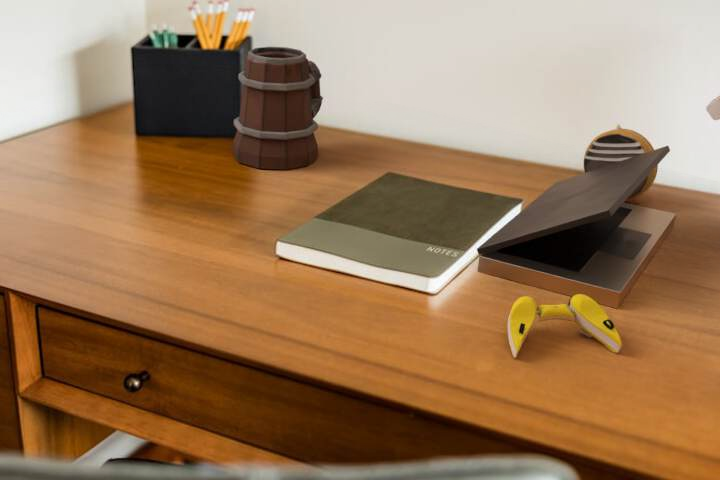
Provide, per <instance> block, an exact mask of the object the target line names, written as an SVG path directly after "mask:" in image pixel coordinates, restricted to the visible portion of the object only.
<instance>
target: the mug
mask: <svg viewBox="0 0 720 480" xmlns="http://www.w3.org/2000/svg"><path fill="white" fill-rule="evenodd" d="M244 62H245V63H244V70H243V71H241V72H239V73H238V76H237V79H238V81H239V82H240V83H241V84H242V92H241V99H240V100H241V101H240V108H239V116H237V117H236V118H234V119H233V126H234V127H235V129H236V133H235V136H234V138H233V140H232V155H233V156H234V159H236V162H238V164H243V165H246V166H250V167H253V168H256V169H260V170H262V169H263V170H278V171H279V170H280V171H281V170H283V171H287V170H291V169H292V170H293V169H297V168H302V167H303V168H304V167H309V166H310V165H311V164H313V162H315V160H317V159H318V158H319V157H318V155H319V153H318V152H319V144H318V142H317V139H316V136H315V133H314V132H316V131H317V130H318V128H319V124H318V123H317V121H316V120H315V117H316V116H317V115H318V113H319V112H320V110H321V107H322V103H323V100H324V97H323V96H322V95H321V81H320V80H321V78H322V73H321V70H320V69H319V67H318V66H317V64H316V63H315V62H314V61H313V60H309V59H308V58H307V54H306V52H304V51H302V50H301V49H298V48H297V49H296V48H293V47H286V46H262V47H254V48H253V49H250V50H249V51H247V55H246V56H245V61H244Z"/></svg>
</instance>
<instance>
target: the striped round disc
mask: <svg viewBox="0 0 720 480" xmlns="http://www.w3.org/2000/svg"><path fill="white" fill-rule="evenodd" d="M653 150H655V149H654V147H653V145H652V143H651V142H650V141H649V140H648V139H647V138H646V137H645V136H644V135H643V134H642V133H640V132H637V131H635V130H633V129H628V128H622V127H621V126H620V123H617V124H616V126H615V128H614V129H611V130H607V131H605V132H602V133H600V134H599V135H596V136H595V138H593V139H592V140H591V142H590V143H589V144H588V146H587V147H586V150H585V153H584V156H583V173H586V172H589V171H592V170H595V169H598V168H601V167H604V166H607V165H610V164H613V163H616V162H620V161H623V160H626V159H629V158H632V157H635V156H638V155H641V154H644V153H647V152H650V151H653ZM658 168H659V164H658V165H657V166H656V167H655V168H654V169H653V170H652V171H651V173H650V174H649V175H648V176H647V177H646V178H645V179H644V180H643V181H642V183H641V184H640V185H639V186H638V187H637V188H636V189H635V190H634V191H633V193H632V194H631V195H630V196H629V197H628V198H627V199H626V200H625V202H630V201H633V200H636V199H637V198H639V197H640V196H642V195H643V194H644V193H645V192H647V191H648V190H649V189H650V188H651V187H652V185H653V184H654V182H655V180H656V177H657V174H658V170H659V169H658Z"/></svg>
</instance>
